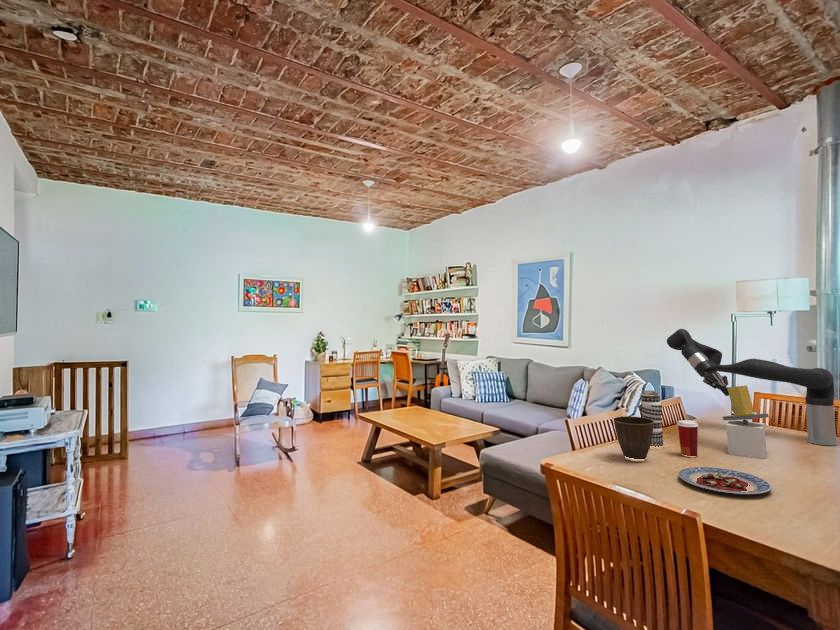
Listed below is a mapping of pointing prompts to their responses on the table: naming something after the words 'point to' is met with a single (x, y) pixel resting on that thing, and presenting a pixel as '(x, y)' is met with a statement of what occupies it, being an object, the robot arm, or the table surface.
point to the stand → (746, 438)
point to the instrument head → (742, 404)
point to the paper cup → (688, 437)
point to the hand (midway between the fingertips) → (729, 394)
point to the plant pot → (634, 435)
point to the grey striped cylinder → (652, 414)
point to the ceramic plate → (724, 480)
